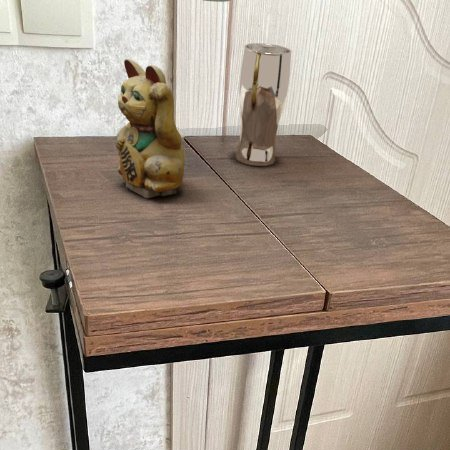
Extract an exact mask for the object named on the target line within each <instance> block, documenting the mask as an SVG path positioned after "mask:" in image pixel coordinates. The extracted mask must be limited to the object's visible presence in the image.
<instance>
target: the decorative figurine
mask: <svg viewBox="0 0 450 450" xmlns="http://www.w3.org/2000/svg"><path fill="white" fill-rule="evenodd" d="M123 64H124V70H125V72H126V76H127V79H125V80H124V81H123V82H122V83H121V86H120V94H119V95H118V97H117V106H118V109H119V110H120V112H121V114H122V115H123V116H125V118H126V120H127V121H128V122H127V124H126V125H124V126H123V127H122V128H120V129H119V130H118V132H117V134H116V137H115V138H116V139H115V146H116V150H117V153H118V156H119V165H118V167H117V172H118V174H119V175H120V176H122V180H123V181H125V187H126V188H128V189H129V190H130V191H131V192H134V193H136V194H138V195H139V196H141V197H143V198H145V199H151V198H155V197H158V196H161V197H164V196H170V195H174V194H178V191H177V189H178V188H179V187H181V186H182V184H183V181H184V175H185V152H184V147H183V143H182V135H181V132H179V130H178V128H177V125H176V123H175V116H174V115H175V112H174V111H175V103H174V100H175V99H174V94H173V91H172V89H171V87H170V85H168V83H167V80H166V75H165V74H164V72H163V70H162V69H161V68H160V67H158V66H157V65H154V64H150V65H147V66H146V67H145V70H144V68H143V67H142V66H140V64H138V63H137V62H136V61H134V60H132V59H129V58H127V59H124V61H123Z"/></svg>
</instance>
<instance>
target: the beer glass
mask: <svg viewBox="0 0 450 450" xmlns="http://www.w3.org/2000/svg"><path fill="white" fill-rule="evenodd" d="M292 53H293V51H292V49H290V48H288V47H286V46H281V45H279V44H278V45H277V44H271V43H259V42H257V43H256V42H255V43H246V44H245V45H244V47H243V54H242V60H241V66H240V74H239V82H238V83H239V85H238V102H239V103H238V104H239V117H240V118H239V120H240V132H239V139H238V144H237V148H236V150H235V151H236V152H235V155H234V156H235V159H236V161H237V162H240V163H242V164H243V165H247V166H251V167H253V166H254V167H268V166H271V165H273V164H274V163H275V162H276V138H277V132H278V129H279V125H280V121H281V118H282V115H283V111H284V109H285V104H286V100H287V97H288V91H289V85H290V77H291V63H292Z"/></svg>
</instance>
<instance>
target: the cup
mask: <svg viewBox="0 0 450 450" xmlns="http://www.w3.org/2000/svg"><path fill="white" fill-rule="evenodd" d="M203 1H204V2H206V1H207V2H216V3H225V2H231V1H232V0H203Z"/></svg>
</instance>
